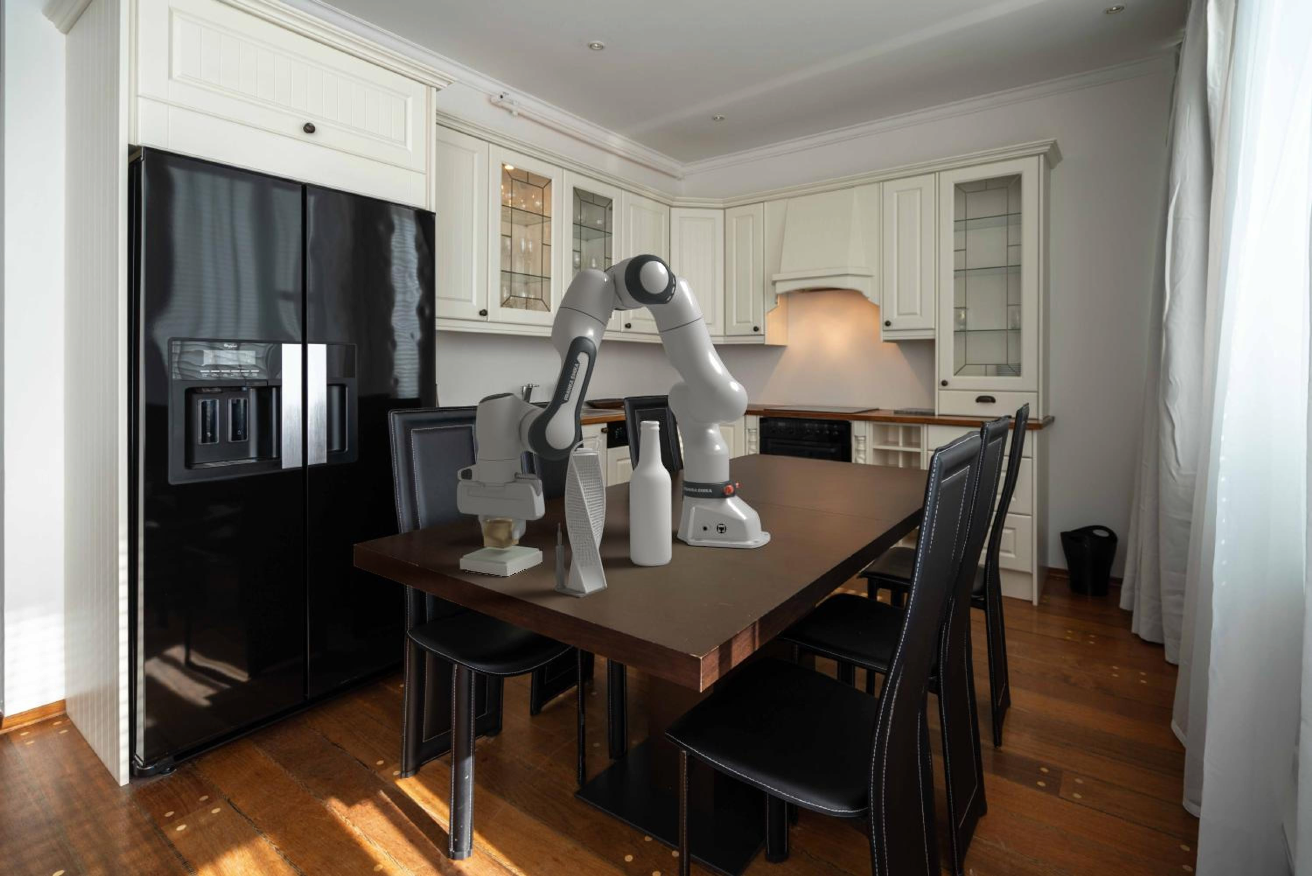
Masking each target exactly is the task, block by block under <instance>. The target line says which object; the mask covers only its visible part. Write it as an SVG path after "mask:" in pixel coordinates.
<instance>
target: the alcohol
mask: <svg viewBox="0 0 1312 876" xmlns="http://www.w3.org/2000/svg"><path fill="white" fill-rule="evenodd" d="M639 424H640V429H639V430H640V443H639V457H638V463H637V465H636V467H635V468H634V470H633V471H632V472H631V474H630V478H629V534H630V535H629V540H630V541H629V542H630V545H629V547H630V548H629V550H630V553H629V554H630V556H629V557H630V560H631V562H632V563H633V564H635V565H636V566H642V567H660V566H665V565H667V564H669V563H670V561H671V559H672V556H673V555H672V480H671V476H670V472H669V471H668V469H666V468H665V466H664V465H663V462H662V461H663V460H662V453H661V442H660V432H659V431H660V427H659V425H660V422H659V421H657V420H643V421H641V422H640V423H639Z"/></svg>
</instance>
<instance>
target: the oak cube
mask: <svg viewBox="0 0 1312 876" xmlns="http://www.w3.org/2000/svg"><path fill="white" fill-rule="evenodd" d="M513 526H514V523H512V519H503V518H497V519H494V520H491V521H488V522H484V523H483V527H484V536H483V547H484V548H487V547H492V548H500V549H505V548H507V547H510V546H516V545H518V544H519V540H518V539H509V538H508V536H509V534H508V531H510V530H512V528H513Z"/></svg>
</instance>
